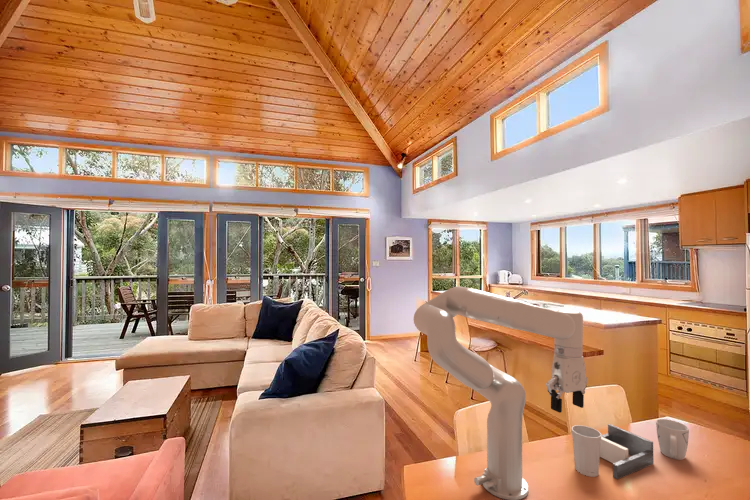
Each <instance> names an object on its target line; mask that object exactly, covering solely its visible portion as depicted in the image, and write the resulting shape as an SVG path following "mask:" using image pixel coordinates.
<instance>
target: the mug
mask: <svg viewBox="0 0 750 500" xmlns="http://www.w3.org/2000/svg"><path fill="white" fill-rule="evenodd" d="M655 425H656V426H655V428H656V436H657V442H658V446H659V451H660V453H661V454H662V455H664V456H666V457H668V458H670V459H674V460H684V459H686V456H687V449H688V444H689V436H690V435H689V434H690V429H689V427H688V426H687V425H686V424H684V423H681V422H680V421H679V422H678V421H676V420H671V419H667V418H666V419H665V418H658V419H656V421H655Z"/></svg>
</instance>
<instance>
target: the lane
mask: <svg viewBox="0 0 750 500" xmlns="http://www.w3.org/2000/svg"><path fill="white" fill-rule="evenodd" d="M601 437H603V438H606V439H608V440H610V441H612V442H614V443H616V444H619V445H621V446H623V447H625V448H627V449H628V458H626V459H623V460H621V461H618V462H616V463H612V478H614V479H616V480H619V479H621V478H625V477H627V476H629V475H631V474H634V473H635V472H638V471H641V470H643V469H645V468H648V467H649V466H652V465H654V464H655V463H654V441H653V440H650V439H647V438H645V437H642V436H640V435H638V434H636V433H633V432H630V431H628V430H626V429H624V428H621V427H619V426H616V425H614V424H611V423H609V424H607V433H604V434H601Z"/></svg>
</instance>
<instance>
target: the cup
mask: <svg viewBox="0 0 750 500" xmlns="http://www.w3.org/2000/svg"><path fill="white" fill-rule="evenodd" d="M601 435H602V433H601V432H600V431H599V430H598V429H595V428H594V427H591V426H587V425H581V424H578V425H577V424H576V425H573V426H571V437H572V446H573V447H572V448H573V456H574V457H573V459H574V469H575V470H577V471H576V472H578V473H579V472H580V473H579V474H580V475H583V476H585V475H586V477H590V478H594V477H598V476H599V475H600V474H599V473H600V471H599V468H600V458H601V457H600V446H601Z"/></svg>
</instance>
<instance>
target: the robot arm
mask: <svg viewBox="0 0 750 500" xmlns="http://www.w3.org/2000/svg"><path fill="white" fill-rule="evenodd" d="M458 315H459V316H462V317H464V318H468V319H472V320H474V321H475V320H476V321H480V322H484V323H488V324H491V325H492V324H493V325H496V326H500V327H504V328H508V329H512V330H519V331H523V332H524V331H525V332H528V333H533V334H536V335H541V336H545V337H549V338H551V339H553V338H554V339H553V340H554V343H553V344H554V346H553V349H554V351H553V353H554V354H553V359H552V366H551V376H550V377H551V378H550V379H549V380H548V381H546V383H545V386H546V389H547V392H548V393H549V396H550V409H551V410H553V411H555V412H557V413H559V414H560V413H562V411H563V410H562V408H563V407H562V406H563V399H562V396H563V393H572V404H573V406H576V407H578V408H581V409H582V408H584V406H585V405H584V399H585V396H584V395H585V393H586V389H587V384H588V382H589V378H588V377H587V375H586V372H587V371H586V364H585V358H584V356H583V355H584V354H583V349H584V348H583V344H584V341H583V340H584V339H583V337H584V315H583V314H582V313H581V312H580V311H577V310H573V309H558V310H553V309H551V308H546V307H543V306H542V307H541V306H540V305H539V306H538V305H535V304H531V303H528V302H525V301H521V300H518V299H516V298H515V299H514V298H511V297H508V296H503V295H499V294H496V293H491V292H488V291H484V290H480V289H477V288H471V287H467V286H466V287H465V286H460V285H459V286H458V285H457V286H454V287H451V288H449V289H447V290H445V291H444V292H441V293H440V294H438V295H437V296H435V297H433V298H432V299H430V300H428V301H427V302H425V303H423V304H421V305H420V306H418V308H416V310H415V312H414V314H413V324H414V326H415V327H416V329H417V330H418V331H419V332H421V334H424V335H426V336H427V337H426V338H427V339H426V341H427V342H426V344H427V345H426V346H427V350H428V353H429V356H430V358H431V360H432V361H433V362H434V363H435V364H436V365H438V366H439V367H440V368H442V369H443V370H444V371H446V372H447V373H449V374H450V376H452V377H454V379H455V380H457V381H458V382H460V383H462V385H464V386H466V387H468V388H470V389H472V390H473V391H475V392H477V393H478V394H479V395H481V396H482V397H484V398H485V399H486V400H487V401H489V402H490V404H491V406H490V409H489V410H488V411H489V412H488V414H487V419H486V429H487V430H486V431H487V432H486V442H487V443H486V444H487V445H486V448H487V450H486V452H487V453H486V455H487V457H486V462H487V463H486V466H487V467H486V468H484V472H482V475H480V476H476V477H474V479H473V480H474V484H475V485H476V486H483V488H484V490H486V491H487V492H488V493H490V494H491V495H493V496H495V497H497V498H500V499H503V500H522V499H524V498H526V497H527V496H528V494H529V485H528V483H527V481H526V479H524V478H523V416H524V409H525V405H526V401H527V395H526V390H525V388H524V386H523V384H521V382H520V381H519V380H518V379H517V378H516V377H514V376H512V375H510V374H508V373H507V372H504V371H502V370H500V369H499V368H497V367H495V366H494V365H492V364H490V363H489V362H488V361H487V360H486V359H485V358H484V357H482V356H481V355H480V354H478V353H476V352H474V351H472V350H470V349H468V348H466V347H465V346H464V345H463V344H462V343H461V342H459V341H458V340H457V335H456V322H455V320H454V318H455V317H456V316H458Z"/></svg>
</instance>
